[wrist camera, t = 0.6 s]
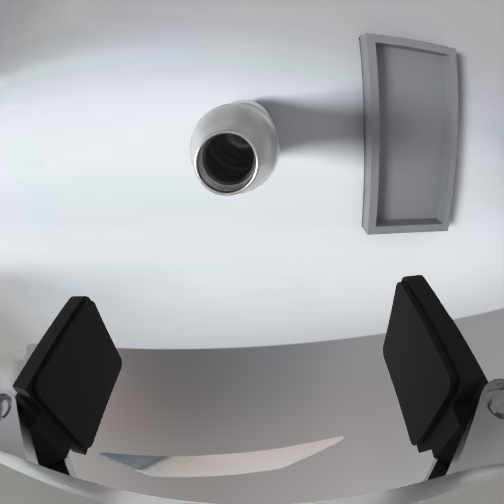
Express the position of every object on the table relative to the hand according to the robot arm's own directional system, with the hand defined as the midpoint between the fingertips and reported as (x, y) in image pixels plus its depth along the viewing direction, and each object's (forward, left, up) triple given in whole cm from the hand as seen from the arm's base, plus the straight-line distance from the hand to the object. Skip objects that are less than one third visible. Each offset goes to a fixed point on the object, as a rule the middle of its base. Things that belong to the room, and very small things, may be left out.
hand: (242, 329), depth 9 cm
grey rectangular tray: (-2, +19, -30) cm, 35 cm away
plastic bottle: (-3, -1, -30) cm, 30 cm away
